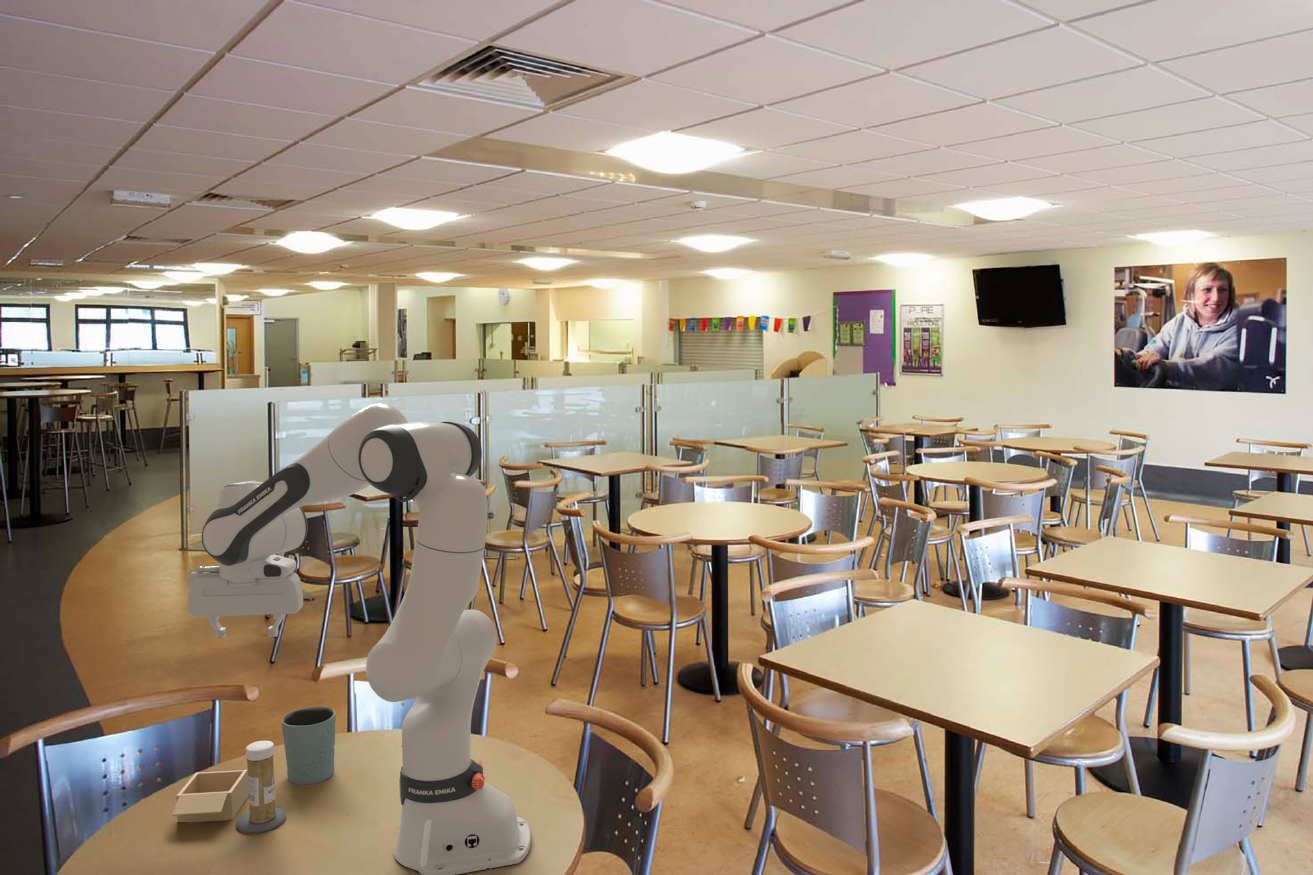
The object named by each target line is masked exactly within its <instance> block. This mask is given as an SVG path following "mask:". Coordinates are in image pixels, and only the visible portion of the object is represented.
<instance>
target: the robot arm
mask: <svg viewBox="0 0 1313 875" xmlns="http://www.w3.org/2000/svg"><path fill="white" fill-rule="evenodd" d="M482 451H483V449H482V444H481V441H480V439H479V437H478V435H477V434H476V432H475V431H473V429H472V428H470V427H468V426H466V425H465V424H461V423H458V422H454V421H438V422H435V421H427V422H426V421H420V420H419V421H410V422H409V421H408V420H407V418H406V417H405V415H404V414H403V413H402V412H401V411H400V410H399V409H397V408H396V407H394V406H392V405H390V404H388V403H383V402H382V403H378V402H377V403H372V404H369V405H367V406H365V407H363V408H360V410H358V411H357V412H354V413H353V414H352V415H350V416H349V417H347V418H346V419H345V420H343V421H342V422H341V423H340V424H339V425H338V426H337V427H335V428H334V429H333V430H332V431H331V432H330V433H329V434H328V435H326V436H325V437H324V438H323V439H321V441H319V442H318V443H317V444H316V445H314V446H313V447H312V448H310V449H309V450H308V451H307V452H305V453H304V454H302V455H301V456H300V457H299V458H297V459H295V460H294V461H293V462H291V463H290V464H289V465H287V466H285V467H284V468H282V469H281V470H279V471H278V472H276V473H275V474H273V475H272V476H269V478H268V479H266V480H264V482H263V481H260V480H247V481H241V482H233V483H228V484H225V486H223V487H222V488H221V489H220V492H219V494H218V501H217V502H218V503H217V509H215V510H214V511H213V512H212V513H211V514H210V515H209V516H208V518H207V519H206V521H205V522H204V523H205V524H204V525H203V528H202V532H201V542H202V546H203V549H204V551H205V552H206V553H207V554H208V556H210V557H211V558H212V559H213V560H215V561H216V562H217V563H218V565H217V566H205V567H204V566H195V568H193V569H192V570H189V572H188V573H187V575H186V584H187V588H188V595H187V611H186V612H187V613H188V614H189V615H190V617H192V618H193V617H194V618H195V617H197V618H198V617H199V618H200V617H208V618H207V619H208V621H207V622H208V623H209V625H210V626H211V628H212V629H213V630H214V632H215V633H214V634H215V640H221V639H225V638H227V627H223V626H222V625H221V623H220V622H219V619H220V618H221V617H222V616H223V617H229V616H258V615H259V616H260V615H272V616H273V617H272V618H273V620H275V622H274V623H273V625H270V626H269V627H267V637H268V638H277V637H278V635H279V626H280V625H281V623H282V621H283V619H284V617H285V615H292V614H297V613H298V612H299V611H301V609H302V608H303V605H304V594H303V586H302V585H303V584H302V581H301V578H300V576H299V575H298V574H297V573H296V572H294V571H295V570H296V569H297V561H296V560H295V559H293V558H288V557H285V556H282V555H278V554H282V553H287V552H291V551H293V550H296V549H298V548H300V547H301V546H302V545H303V543H304V542H305V540H306V538H307V536H308V535H307V534H308V530H309V528H308V527H309V525H308V517H307V515H306V512H305V511H304V509H303V508H302V507H304V506H309V505H313V504H318V503H322V502H327V501H332V500H337V499H342V498H346V497H350V496H352V495H354V494H356V493H358V492H360V491H362V490H364V489H366V488H367V487H369V486H372V487H374V488H375V489H377V490H379V491H381V492H383V493H386V494H389V495H390V496H391V497H393V498H394V499H395V500H396V501H398V502H401V503H406V502H409V501H411V500H414V502H416V505H417V507H418V521H417V529H416V535H415V541H414V548H413V555H412V556H413V557H412V561H411V568H410V575H409V578H408V583H407V587H406V590H405V591H404V595H403V598H401V599H402V600H401V602H400V604H399V606H398V609H397V611H396V613H395V615H394V616H393V619H392V621H391V623H390V625H389V627H388V628H387V630H386V631H385V632H384V634H383V636H382V637H381V638H380V639H379V641H377V643H376V644H375V645H374V646H373V647H372V648H371V649H370V650H369V653H368V655H367V657H366V661H365V674H366V679H367V681H368V684H369V686H370V688H371V690H372V691H373V692H374V693H375V694H376V695H377V696H378V697H379V698H381V699H382V700H383V701H386V702H388V703H399V702H405V701H410V700H413V699H415V700H414V702H413V705H412V706H411V708H410V709H409V710H408V712H407V713H406V716H405V718H404V720H403V721H402V722H403V723H402V725H401V744H402V745H401V747H402V748H401V753H402V755H401V756H402V759H401V760H402V766H401V768H400V771H399V773H400V774H399V776H398V777H399V780H398V781H399V787H398V788H399V798H400V804H401V814H400V824H399V831H398V834H397V838H396V843H395V846H394V850H393V855H394V858H395V860H396V861H397V863H399V864H400V865H402V866H404V867H406V868H409V869H412V870H415V871H417V872H419V873H420V875H455V874H456V875H460V874H467V873H471V872H477V871H483V870H488V869H487V868H489V869H493V868H499V867H505V866H510V865H515V864H519V863H521V862H522V861H523V860H524V859H525V858H526V857H527V855H528V854H529V851H530V849H531V844H532V842H531V841H532V836H531V835H532V834H531V830H530V826H529V823H528V822H527V821H526V820H525V819H524V818H522V817H520V816H517V812H516V809H515V806H514V802H513V801H512V799H511V797H510V796H509V795H508V794H506V793H504V792H502V791H501V790H499V789H497V788H496V787H494V786H492V785H490V784H489V783H487V782H486V781H485V776H484V767H483V765H482V764H483V763H482V760H481V759H479V760H478V762H476V761H474V760H473V759H472V758H471V740H472V739H471V735H472V733H471V732H472V731H471V729H472V727H471V726H472V716H473V710H474V704H475V700H476V697H477V693H478V689H479V686H480V682H481V679H482V676H483V673H484V671H485V669H486V666H487V665H488V662H489V661H490V659H491V657H492V656H493V655H494V653H495V651H496V648H497V644H498V635H497V630H496V627H495V625H494V622H493V621H492V620H491V618H490V617H489V616H488V615H487V614H485V613H484V612H483V611H480V610H478V609H467V607H468V605H469V604H470V603H471V602H472V601H473V599H474V598H475V596H476V595H477V593H478V590H479V588H480V582H481V575H482V567H483V561H484V553H485V547H486V542H487V541H486V540H487V532H488V499H487V496H488V495H487V491H486V489H485V487H484V485H483V484H482V483H481V482H480V481H478V480H477V479H476V478H474V477H473V476H474V474H475V473H476V472H477V470H478V469H479V466H480V465H481V461H482V458H483V457H482V455H483V454H482V453H483V452H482Z"/></svg>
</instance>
